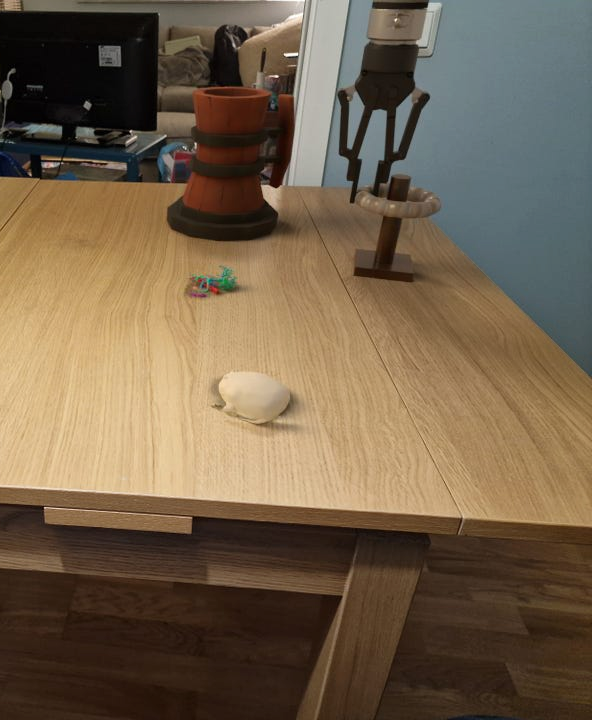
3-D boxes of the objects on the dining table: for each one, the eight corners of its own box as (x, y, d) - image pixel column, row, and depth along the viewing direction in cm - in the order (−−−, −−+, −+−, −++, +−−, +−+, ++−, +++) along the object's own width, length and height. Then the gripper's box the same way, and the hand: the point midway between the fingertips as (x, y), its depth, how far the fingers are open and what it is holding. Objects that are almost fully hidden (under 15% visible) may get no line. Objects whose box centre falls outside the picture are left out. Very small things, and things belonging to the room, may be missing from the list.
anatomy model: (172, 265, 101) (199, 274, 96) (213, 255, 105) (242, 264, 99) (173, 297, 103) (199, 308, 98) (213, 287, 107) (241, 297, 101)
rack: (408, 262, 114) (430, 171, 106) (411, 282, 107) (434, 186, 99) (354, 256, 117) (371, 167, 109) (353, 275, 109) (371, 181, 102)
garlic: (204, 407, 75) (206, 379, 74) (234, 383, 80) (237, 355, 78) (267, 433, 71) (272, 404, 69) (296, 406, 76) (300, 378, 74)
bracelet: (434, 200, 110) (438, 186, 109) (441, 224, 99) (446, 209, 98) (354, 192, 113) (357, 178, 112) (353, 214, 103) (356, 199, 102)
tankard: (149, 212, 139) (153, 87, 127) (254, 201, 146) (267, 81, 134) (195, 246, 121) (204, 104, 109) (312, 231, 128) (332, 96, 116)
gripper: (335, 42, 95) (311, 204, 107) (454, 45, 91) (415, 213, 102) (337, 39, 101) (314, 192, 113) (448, 41, 97) (412, 200, 109)
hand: (362, 201), depth 108 cm, fingers closed on bracelet, 3 cm apart
